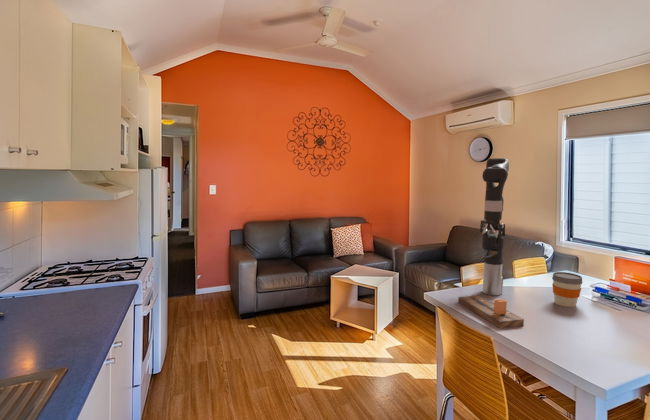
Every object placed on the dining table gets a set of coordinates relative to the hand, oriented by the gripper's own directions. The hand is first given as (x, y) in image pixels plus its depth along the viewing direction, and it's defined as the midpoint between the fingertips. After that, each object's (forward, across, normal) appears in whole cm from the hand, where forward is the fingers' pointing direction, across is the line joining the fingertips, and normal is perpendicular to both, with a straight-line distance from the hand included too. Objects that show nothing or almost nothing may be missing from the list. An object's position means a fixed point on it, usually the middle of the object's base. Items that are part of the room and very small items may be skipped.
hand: (491, 243), depth 162 cm
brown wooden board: (+33, -4, +3) cm, 33 cm away
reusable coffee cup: (+33, -2, -44) cm, 55 cm away
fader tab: (+30, -12, +3) cm, 32 cm away
